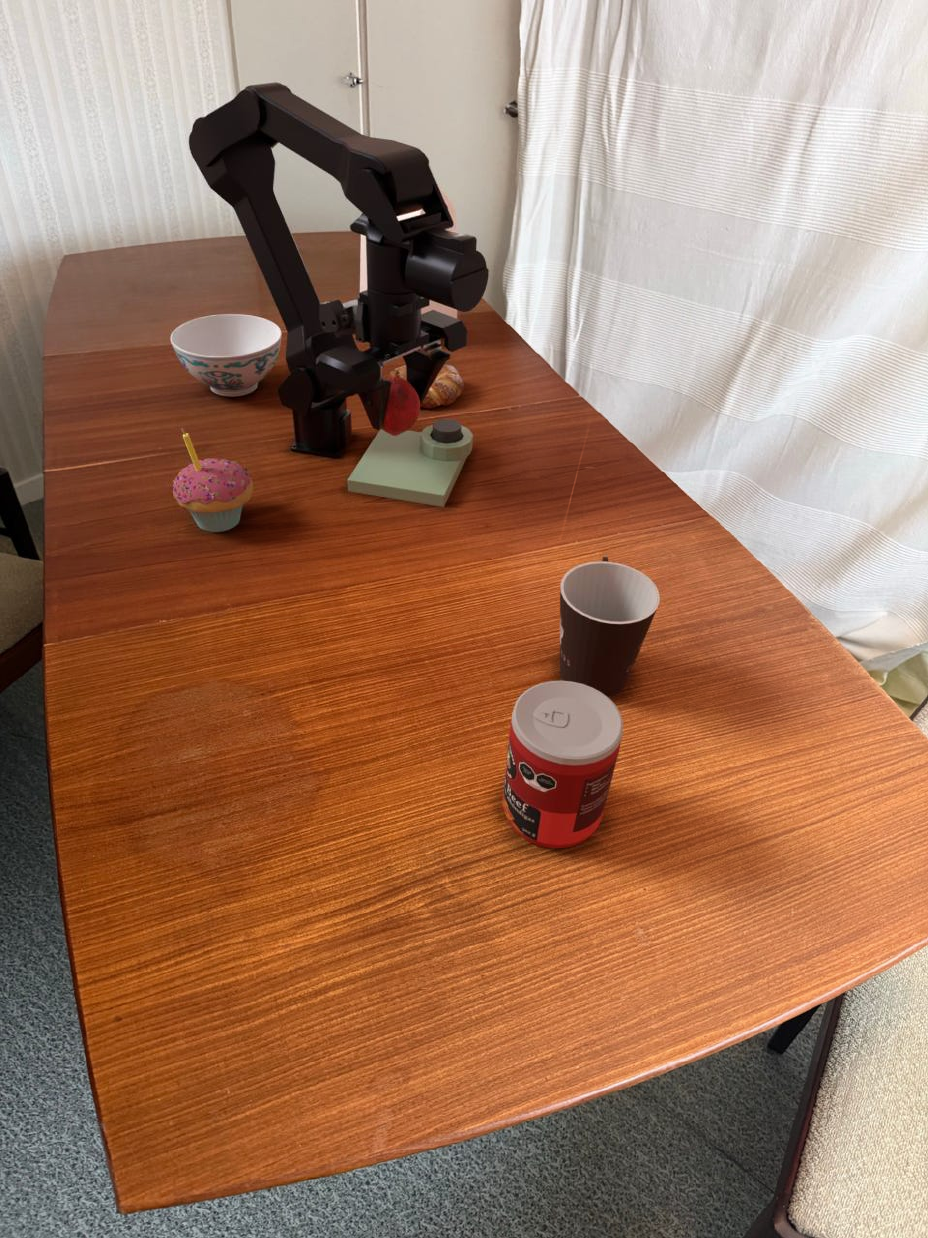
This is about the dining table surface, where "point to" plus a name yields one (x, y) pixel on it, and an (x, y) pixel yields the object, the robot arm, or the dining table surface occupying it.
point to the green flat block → (411, 466)
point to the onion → (400, 406)
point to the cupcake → (212, 490)
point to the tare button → (446, 431)
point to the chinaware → (228, 351)
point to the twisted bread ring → (440, 387)
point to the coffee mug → (604, 623)
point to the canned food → (560, 762)
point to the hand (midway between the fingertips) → (395, 419)
